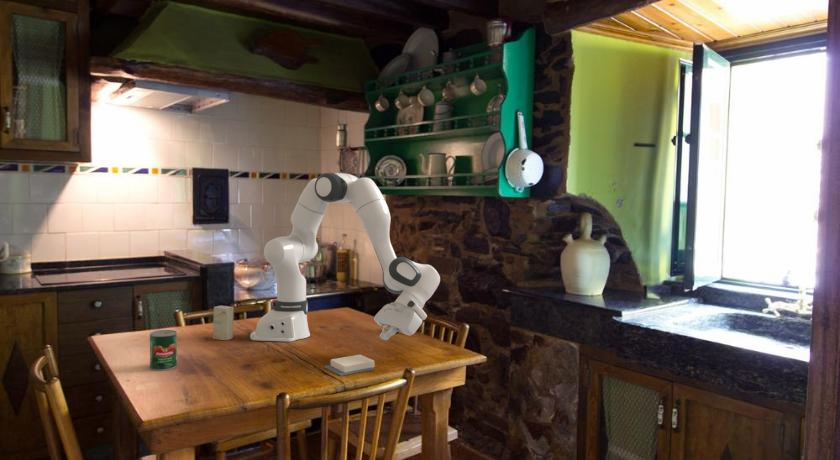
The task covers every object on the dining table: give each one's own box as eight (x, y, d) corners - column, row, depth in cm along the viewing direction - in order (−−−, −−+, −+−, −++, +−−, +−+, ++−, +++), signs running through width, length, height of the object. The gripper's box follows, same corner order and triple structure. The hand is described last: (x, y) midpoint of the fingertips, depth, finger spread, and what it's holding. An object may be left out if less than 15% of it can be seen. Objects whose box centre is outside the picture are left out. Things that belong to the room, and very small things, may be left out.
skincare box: (212, 339, 226) (212, 307, 225) (220, 336, 230) (220, 305, 229) (226, 340, 223) (226, 308, 223) (234, 338, 227) (233, 306, 227)
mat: (340, 376, 184) (340, 374, 183) (323, 367, 192) (323, 366, 192) (374, 369, 191) (374, 368, 191) (356, 361, 199) (356, 360, 199)
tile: (374, 367, 192) (344, 373, 185) (360, 360, 199) (330, 365, 193) (374, 360, 192) (344, 366, 185) (360, 354, 199) (330, 359, 192)
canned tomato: (160, 372, 184) (159, 337, 183) (144, 367, 188) (144, 333, 188) (182, 366, 191) (182, 332, 190) (166, 362, 195) (166, 328, 194)
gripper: (385, 296, 210) (360, 326, 205) (419, 305, 194) (394, 339, 189) (395, 307, 213) (371, 338, 208) (430, 317, 197) (405, 351, 192)
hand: (382, 338), depth 198 cm, fingers closed
